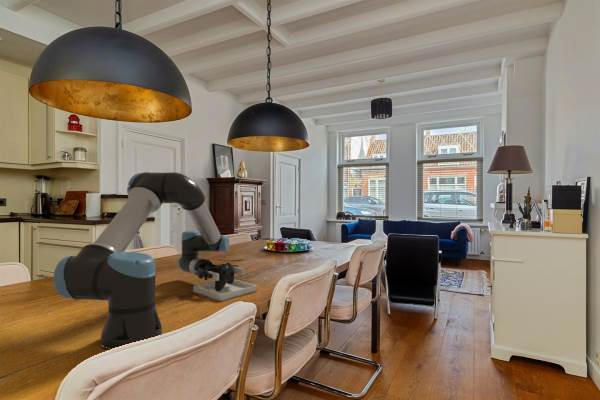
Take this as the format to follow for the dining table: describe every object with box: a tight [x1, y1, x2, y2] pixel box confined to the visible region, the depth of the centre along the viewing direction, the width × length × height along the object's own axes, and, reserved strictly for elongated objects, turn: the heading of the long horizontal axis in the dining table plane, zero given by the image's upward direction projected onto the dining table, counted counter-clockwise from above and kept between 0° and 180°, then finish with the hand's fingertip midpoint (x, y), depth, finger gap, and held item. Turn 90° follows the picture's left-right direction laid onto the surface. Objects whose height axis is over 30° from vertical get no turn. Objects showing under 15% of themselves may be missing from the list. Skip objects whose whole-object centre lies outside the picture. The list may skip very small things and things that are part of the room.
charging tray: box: [192, 278, 258, 302], centre depth 139 cm, size 18×19×2 cm
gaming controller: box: [214, 262, 235, 291], centre depth 139 cm, size 14×6×10 cm, turn 168°
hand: (231, 274), depth 136 cm, fingers closed on gaming controller, 12 cm apart
